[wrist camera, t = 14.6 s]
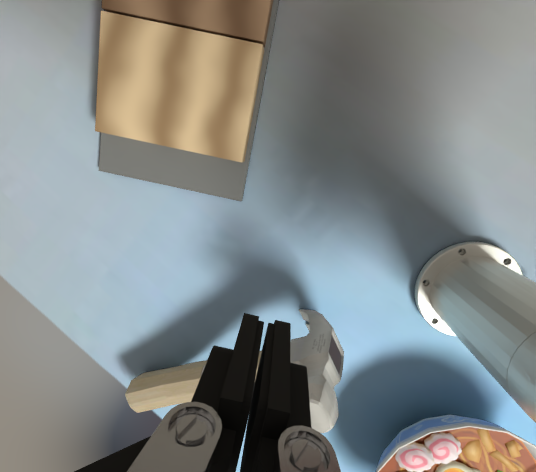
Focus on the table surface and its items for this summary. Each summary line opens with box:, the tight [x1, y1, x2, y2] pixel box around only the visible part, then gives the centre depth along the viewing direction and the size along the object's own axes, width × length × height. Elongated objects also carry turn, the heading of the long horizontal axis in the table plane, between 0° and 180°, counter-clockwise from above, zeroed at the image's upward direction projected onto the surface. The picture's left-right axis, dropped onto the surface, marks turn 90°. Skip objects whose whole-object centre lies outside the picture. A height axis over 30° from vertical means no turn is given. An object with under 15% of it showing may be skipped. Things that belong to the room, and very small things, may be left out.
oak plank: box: [95, 11, 264, 162], centre depth 35 cm, size 17×12×2 cm
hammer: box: [125, 309, 344, 433], centre depth 40 cm, size 16×5×30 cm
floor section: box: [99, 0, 279, 201], centre depth 34 cm, size 18×30×3 cm, turn 168°
